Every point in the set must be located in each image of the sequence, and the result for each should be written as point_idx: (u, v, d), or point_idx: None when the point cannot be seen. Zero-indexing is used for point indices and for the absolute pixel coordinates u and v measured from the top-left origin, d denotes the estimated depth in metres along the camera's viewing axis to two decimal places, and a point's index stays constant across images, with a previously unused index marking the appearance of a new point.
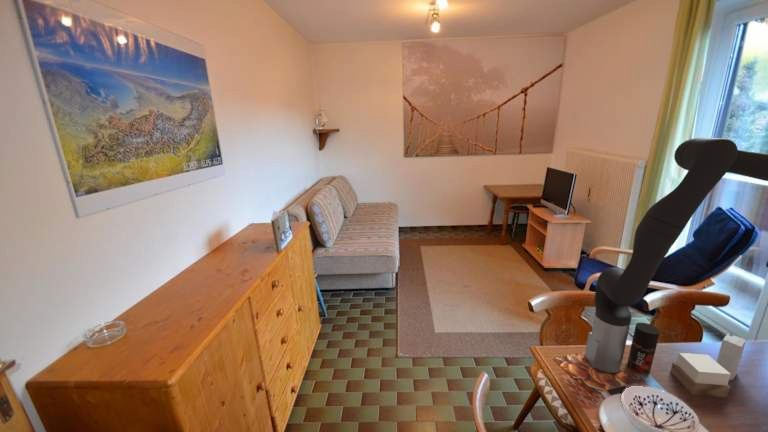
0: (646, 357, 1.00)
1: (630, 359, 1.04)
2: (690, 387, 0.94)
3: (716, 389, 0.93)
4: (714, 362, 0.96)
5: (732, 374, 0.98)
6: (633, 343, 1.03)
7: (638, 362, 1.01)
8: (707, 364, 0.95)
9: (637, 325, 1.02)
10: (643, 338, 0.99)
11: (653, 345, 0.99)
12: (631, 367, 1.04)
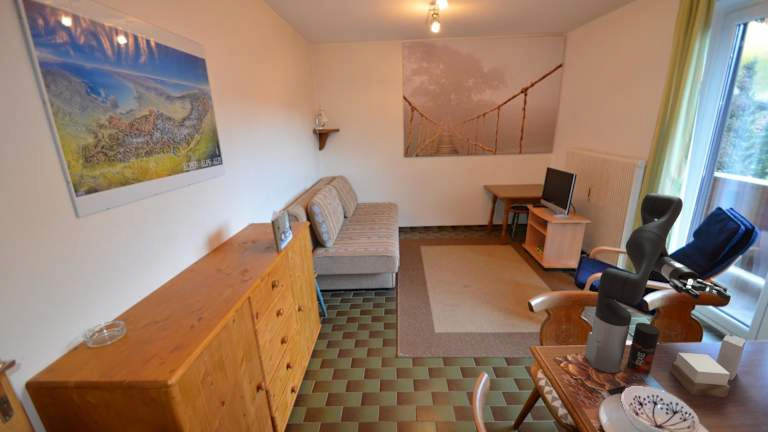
0: (646, 357, 1.00)
1: (630, 359, 1.04)
2: (690, 387, 0.95)
3: (715, 389, 0.93)
4: (713, 362, 0.96)
5: (732, 374, 0.98)
6: (633, 343, 1.03)
7: (638, 362, 1.01)
8: (707, 364, 0.95)
9: (637, 325, 1.02)
10: (643, 338, 0.99)
11: (653, 345, 0.99)
12: (631, 367, 1.04)
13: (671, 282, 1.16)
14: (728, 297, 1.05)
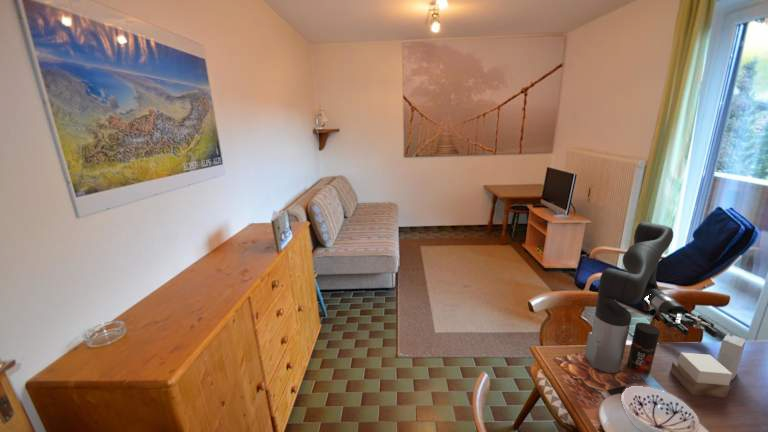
0: (646, 357, 1.00)
1: (630, 359, 1.04)
2: (690, 387, 0.94)
3: (715, 389, 0.93)
4: (716, 362, 0.96)
5: (732, 374, 0.98)
6: (633, 343, 1.03)
7: (638, 362, 1.01)
8: (709, 364, 0.95)
9: (637, 325, 1.02)
10: (643, 338, 0.99)
11: (653, 345, 0.99)
12: (631, 367, 1.04)
13: (661, 316, 1.20)
14: (715, 333, 1.09)
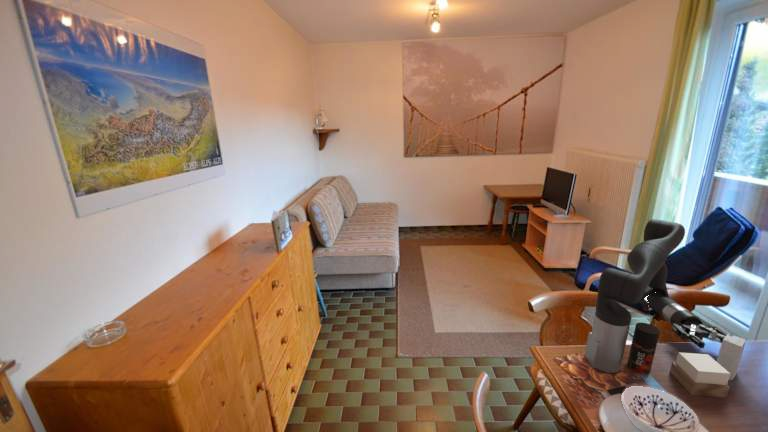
0: (646, 357, 1.00)
1: (630, 359, 1.04)
2: (690, 387, 0.94)
3: (715, 389, 0.93)
4: (714, 362, 0.96)
5: (732, 374, 0.98)
6: (633, 343, 1.03)
7: (638, 362, 1.01)
8: (707, 363, 0.95)
9: (637, 325, 1.02)
10: (643, 338, 0.99)
11: (653, 345, 0.99)
12: (631, 367, 1.04)
13: (674, 327, 1.13)
14: None
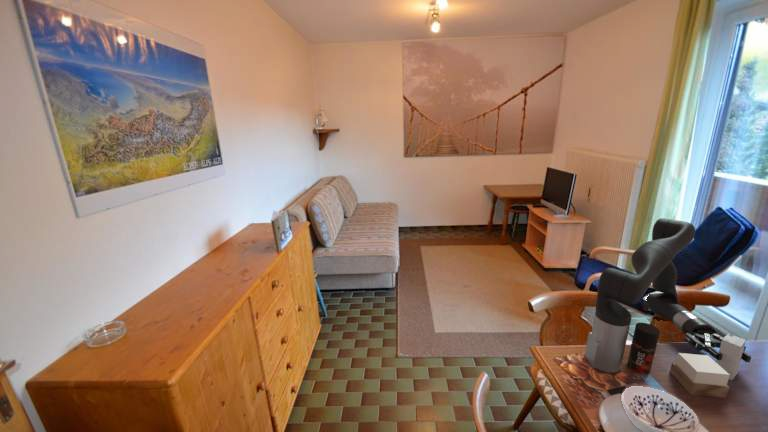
0: (646, 357, 1.00)
1: (630, 359, 1.04)
2: (689, 387, 0.94)
3: (715, 389, 0.93)
4: (714, 363, 0.95)
5: (732, 374, 0.98)
6: (633, 343, 1.03)
7: (638, 362, 1.01)
8: (706, 364, 0.95)
9: (637, 325, 1.02)
10: (643, 338, 0.99)
11: (653, 345, 0.99)
12: (631, 367, 1.04)
13: (687, 337, 1.08)
14: (748, 358, 0.98)
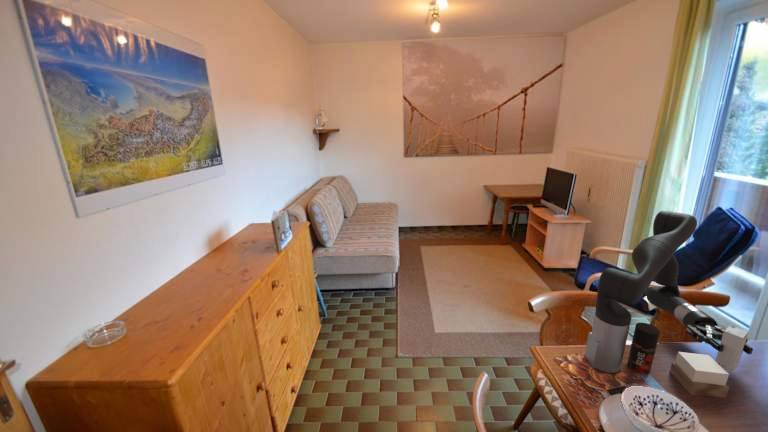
0: (646, 357, 1.00)
1: (630, 359, 1.04)
2: (689, 387, 0.94)
3: (714, 389, 0.92)
4: (713, 362, 0.96)
5: (733, 366, 0.97)
6: (633, 343, 1.03)
7: (638, 362, 1.01)
8: (706, 364, 0.95)
9: (637, 325, 1.02)
10: (643, 338, 0.99)
11: (653, 345, 0.99)
12: (631, 367, 1.04)
13: (688, 329, 1.07)
14: (750, 350, 0.97)
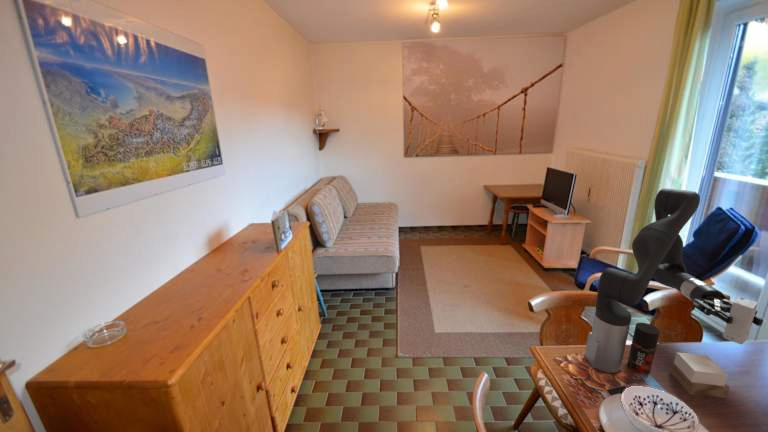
0: (646, 357, 1.00)
1: (630, 359, 1.04)
2: (689, 387, 0.94)
3: (714, 389, 0.92)
4: (712, 363, 0.95)
5: (742, 338, 0.94)
6: (633, 343, 1.03)
7: (638, 362, 1.01)
8: (705, 364, 0.95)
9: (637, 325, 1.02)
10: (643, 338, 0.99)
11: (653, 345, 0.99)
12: (631, 367, 1.04)
13: (696, 303, 1.04)
14: (760, 321, 0.94)
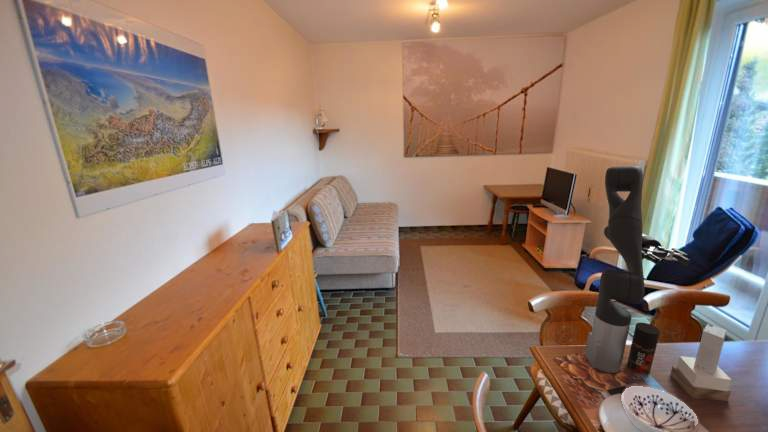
0: (646, 357, 1.00)
1: (630, 359, 1.04)
2: (691, 391, 0.93)
3: (716, 393, 0.91)
4: None
5: (713, 368, 0.91)
6: (633, 343, 1.03)
7: (638, 362, 1.01)
8: None
9: (637, 325, 1.02)
10: (643, 338, 0.99)
11: (653, 345, 0.99)
12: (631, 367, 1.04)
13: None
14: (687, 261, 1.06)
